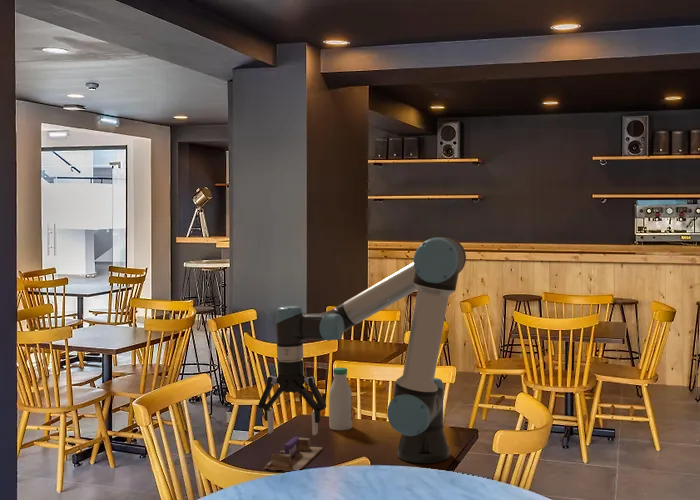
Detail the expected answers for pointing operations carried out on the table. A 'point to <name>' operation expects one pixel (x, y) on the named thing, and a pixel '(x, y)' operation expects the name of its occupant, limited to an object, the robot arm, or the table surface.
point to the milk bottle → (340, 401)
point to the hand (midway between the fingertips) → (292, 433)
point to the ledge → (294, 457)
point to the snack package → (292, 446)
